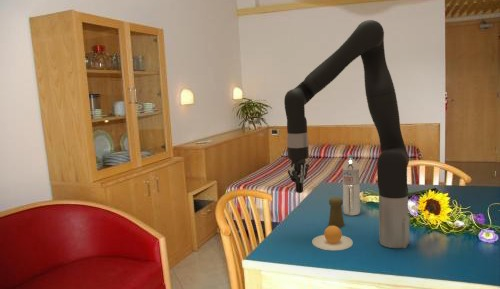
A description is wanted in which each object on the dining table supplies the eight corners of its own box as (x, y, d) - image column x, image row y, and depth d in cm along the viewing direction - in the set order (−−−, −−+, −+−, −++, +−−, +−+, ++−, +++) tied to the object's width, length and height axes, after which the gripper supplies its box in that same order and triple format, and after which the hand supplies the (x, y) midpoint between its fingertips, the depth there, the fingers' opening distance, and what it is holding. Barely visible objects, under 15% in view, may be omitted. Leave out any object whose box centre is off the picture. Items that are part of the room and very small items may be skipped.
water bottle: (363, 214, 168) (362, 155, 164) (349, 217, 166) (348, 157, 162) (353, 209, 175) (352, 153, 171) (340, 212, 172) (338, 155, 168)
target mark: (358, 238, 144) (358, 238, 144) (344, 253, 132) (344, 253, 132) (321, 232, 151) (321, 231, 151) (305, 246, 140) (305, 245, 140)
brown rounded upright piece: (344, 227, 155) (343, 200, 153) (328, 227, 156) (327, 200, 154) (344, 222, 161) (343, 195, 159) (328, 221, 162) (327, 195, 160)
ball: (343, 224, 142) (326, 223, 145) (338, 228, 137) (321, 227, 140) (343, 241, 143) (327, 239, 145) (339, 246, 137) (322, 244, 140)
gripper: (299, 148, 135) (301, 198, 138) (315, 142, 146) (316, 188, 149) (279, 147, 140) (281, 196, 142) (296, 142, 150) (298, 186, 153)
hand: (299, 192), depth 146 cm, fingers closed
